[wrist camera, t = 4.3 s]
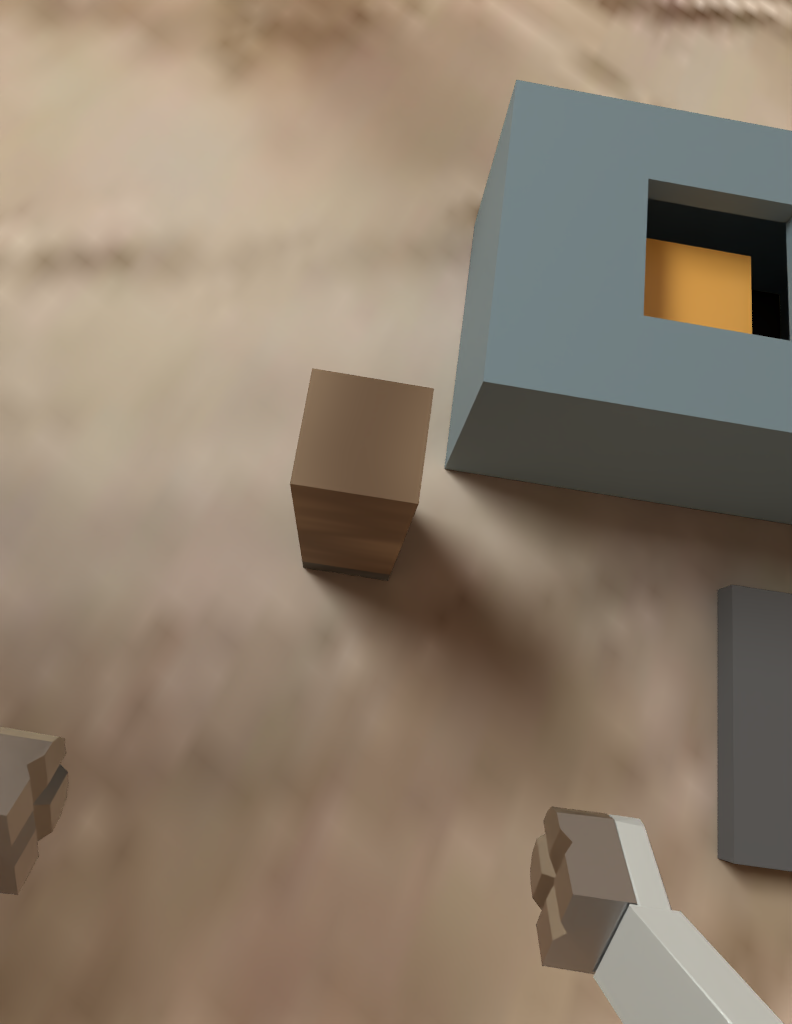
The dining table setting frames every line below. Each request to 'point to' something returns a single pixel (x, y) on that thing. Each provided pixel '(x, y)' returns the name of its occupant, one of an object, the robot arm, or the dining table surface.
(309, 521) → the upright wooden post
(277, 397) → the dining table surface
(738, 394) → the box
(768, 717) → the pad
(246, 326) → the dining table surface
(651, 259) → the button
